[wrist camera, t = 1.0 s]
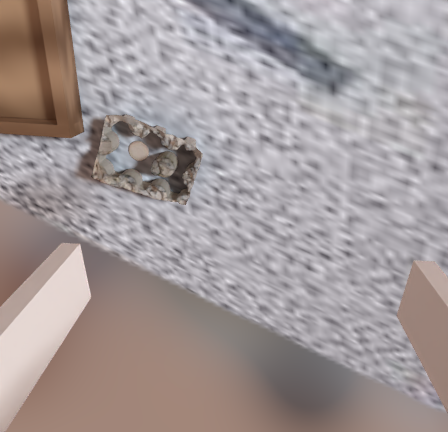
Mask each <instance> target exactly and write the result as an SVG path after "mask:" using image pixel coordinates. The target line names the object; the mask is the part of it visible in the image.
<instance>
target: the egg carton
mask: <svg viewBox="0 0 448 432" xmlns="http://www.w3.org/2000/svg"><path fill="white" fill-rule="evenodd" d="M119 121H123V122H125V123H127V124H128V126H129V129H130V131H131V133H133V134H134V135H136V136H139V137H141V139H142V138H144V137H146V136H147V135H148V134H149V133H150V132H152V131H153V133H154V134H157V133H160V134H157V136H158V137H159V138H160V139H161V143H162V145H165V146H166V147H167V148H168V149H169V150H177V149H178V148H179V147H180V146H181V145H184V147H185V149H186V150H187V151H190V150H192V151H193V153H194V155H195V156H196V160H195V162H193V163H191V164H189V165H188V167H187V168H186V170H185V172H184V173H183V175H182V179H184V184H185V185H186V186H187V187H188V188H185V189H183V190H181V191H180V193H175V192H172V191H170V185H169V183H168V182H167V181H166V180H164V179H155V180H154V181H153V182H152V183H150V182H144V181H142V176H141V174H140V173H139V172H138V171H137V170H135V169H127V170H125V171H124V172H123V173H118V172H116V171H115V170H114V167H113V165H112V163H111V162H110V161H109V160H107V159H106V155H108V154H110V153H111V152H113V151H114V150H115V149H117V148H118V146H119V138H118V136H117V134H116V133H115V132H113V131H112V130H111V128H112V126H113V125H114V124H116V123H118V122H119ZM129 154H130V156H131V157H132V158H133V159H135V160H138V161H143V160H145V159H146V158H147V157H148V155H149V150H148V147H147V146H146V145H145V144H144V143H143V142H141V141H134V142H132V143H131V144H130V145H129ZM202 156H203V154H202V153H201V152H200V151H199V150H198V149H197V148H196V140H195V139H193V138H190V137H187V138H186V139H185V140H183V139H180V138H176V136H174V135H168V134H166V129H165V128H163V127H160V126H156V127H155V128H153V127H151V126H149V125H147V124H145V123H143V122H141V121H138V120H135V118H134V117H133V116H130V115H127V114H126V115H124V116H121V115H106V118H105V122H104V126H103V132H102V136H101V139H100V146H99V151H98V154H97V157H96V160H95V164H94V169H93V173H92V176H91V177H92V178H94V179H97V180H99V181H100V182H103V183H107V184H109V185H111V186H115V187H118V188H120V187H123V188H126V189H128V190H130V191H132V192H135V193H140V194H143V195H146V196H149V197H151V198H153V199H159V200H165V201H171V202H178V203H179V204H182V205H186V203H187V200H188V199H189V196H190V190H191V188H192V186H193V184H194V180H195V177H196V174H197V171H198V169H199V167H200V163H201V159H202ZM177 166H178V159H177V157H176V155H175V154H174V153H172V152H170V151H166V152H163V153H161V154H160V155H159V156H158V157H157V158H156V159H155V160H154V161H153V163H152V167H151V173H152V174H154V175H158V176H161V177H165V178H166V177H169V176H171V175H172V174H173V173H174V171H175V170H176V168H177Z"/></svg>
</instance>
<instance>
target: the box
mask: <svg viewBox="0 0 448 432" xmlns="http://www.w3.org/2000/svg"><path fill="white" fill-rule="evenodd" d="M82 132H84V127H83V120H82V112H81V104H80V96H79V89H78V81H77V73H76V66H75V58H74V50H73V42H72V35H71V27H70V19H69V11H68V4H67V0H0V133H3V134H18V135H33V136H47V137H62V138H72V137H74V136H76V135H78V134H80V133H82Z"/></svg>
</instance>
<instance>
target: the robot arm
mask: <svg viewBox="0 0 448 432" xmlns="http://www.w3.org/2000/svg"><path fill="white" fill-rule="evenodd" d="M90 298H91V294H90V289H89V284H88V280H87V275H86V270H85V266H84V261H83V256H82V252H81V247H80V244H71V243H61V244H60V245H59V246H58V247H57V249H55V251H54V252H53V253H52V254H51V255H50V256H49V257H48V258H47V259H46V260H45V261H44V262H43V263H42V264H41V265H40V266H39V267H38V268H37V269H36V270H35V271H34V272H33V273H32V275H31V276H30V277H29V278H28V279H27V280H26V281H25V282H24V283H23V284H22V285H21V286H20V287H19V288H18V289H17V290H16V291H15V292H14V293H13V294H12V295H11V297H9V298H8V300H7V301H6V302H5V303H4V304H3V305H2V306H1V307H0V432H5V431H6V430H7V428H8V426H9V425H10V423H11V422H12V420H13V418H14V417H15V416H16V414H17V412H18V411H19V409H20V408H21V406H22V405H23V403H24V401H25V400H26V398H27V397H28V395H29V394H30V392H31V390H32V389H33V387H34V386H35V384H36V383H37V381H38V380H39V378H40V376H41V375H42V373H43V372H44V370H45V369H46V367H47V365H48V364H49V362H50V361H51V359H52V357H53V356H54V355H55V353H56V351H57V350H58V348H59V347H60V345H61V343H62V342H63V340H64V339H65V337H66V336H67V334H68V333H69V331H70V330H71V328H72V326H73V325H74V323H75V322H76V320H77V319H78V317H79V315H80V314H81V312H82V311H83V309H84V308H85V306H86V305H87V303H88V301H89V300H90ZM397 317H398V319H399V321H400V323H401V325H402V327H403V329H404V331H405V332H406V334H407V336H408V338H409V340H410V342H411V344H412V346H413V348H414V350H415V352H416V354H417V356H418V357H419V359H420V361H421V363H422V365H423V367H424V369H425V371H426V373H427V375H428V377H429V379H430V380H431V382H432V384H433V386H434V388H435V390H436V392H437V394H438V396H439V398H440V400H441V402H442V404H443V405H444V407H445V409H446V411H447V413H448V277H447V276H446V275H445V274H444V272H443V271H442V270H441V269H440V267H439V266H438V265H437V264H436V263H435V262H433V261H414V262H413V265H412V268H411V271H410V274H409V278H408V281H407V284H406V287H405V291H404V294H403V297H402V300H401V303H400V307H399V310H398V313H397Z"/></svg>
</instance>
